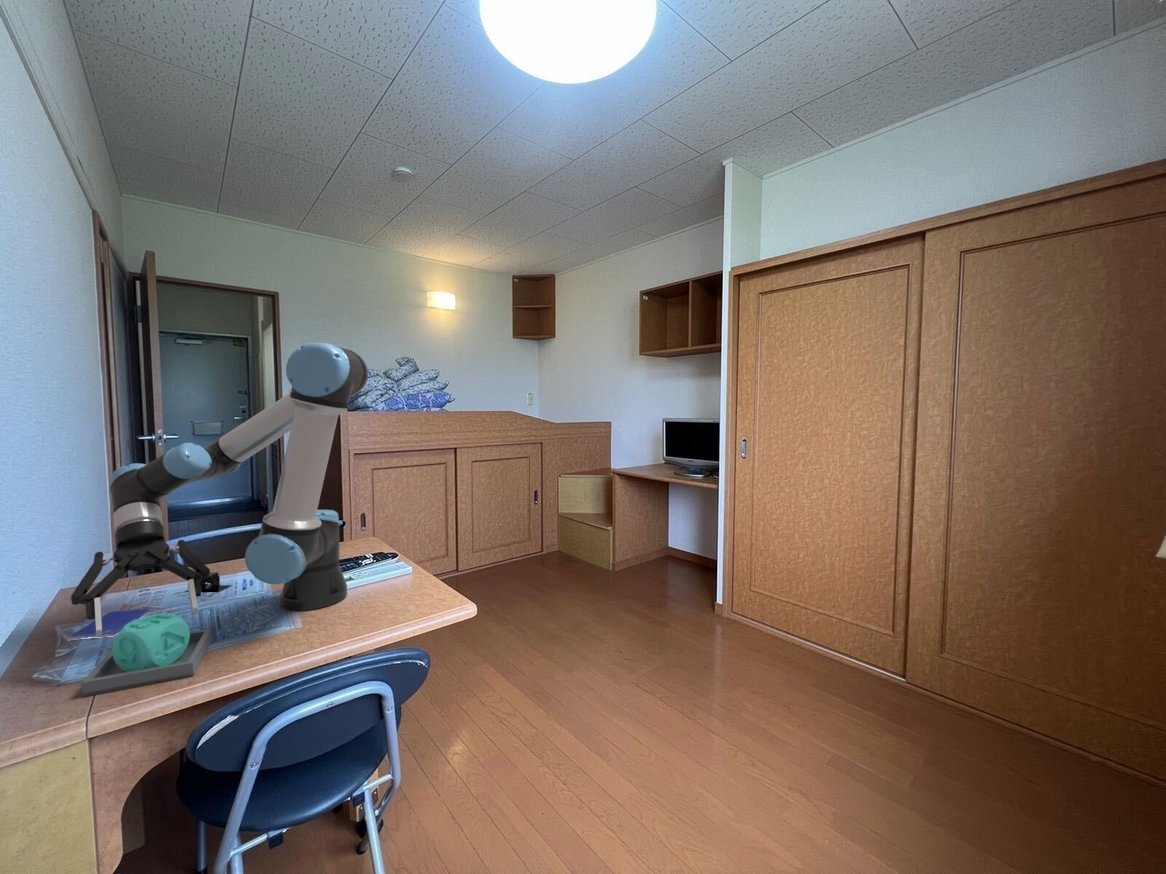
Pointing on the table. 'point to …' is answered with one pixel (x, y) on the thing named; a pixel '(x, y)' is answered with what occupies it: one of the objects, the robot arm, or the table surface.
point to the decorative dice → (151, 642)
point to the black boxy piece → (212, 584)
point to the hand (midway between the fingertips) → (149, 621)
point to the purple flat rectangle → (109, 624)
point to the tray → (115, 678)
